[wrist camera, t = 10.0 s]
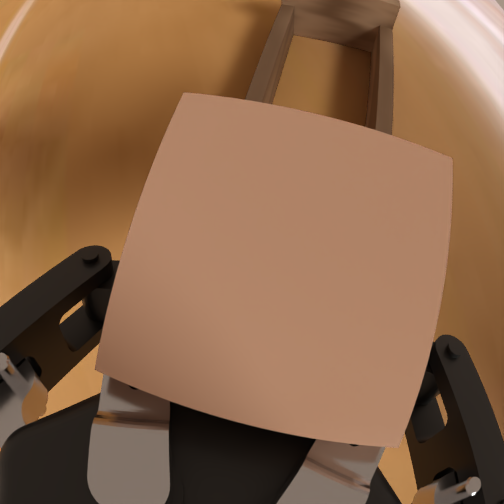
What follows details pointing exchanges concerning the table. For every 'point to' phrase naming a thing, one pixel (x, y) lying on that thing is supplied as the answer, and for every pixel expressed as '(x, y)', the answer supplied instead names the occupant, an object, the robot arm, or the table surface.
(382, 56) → the brown u-shaped rail
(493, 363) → the table surface
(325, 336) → the block
